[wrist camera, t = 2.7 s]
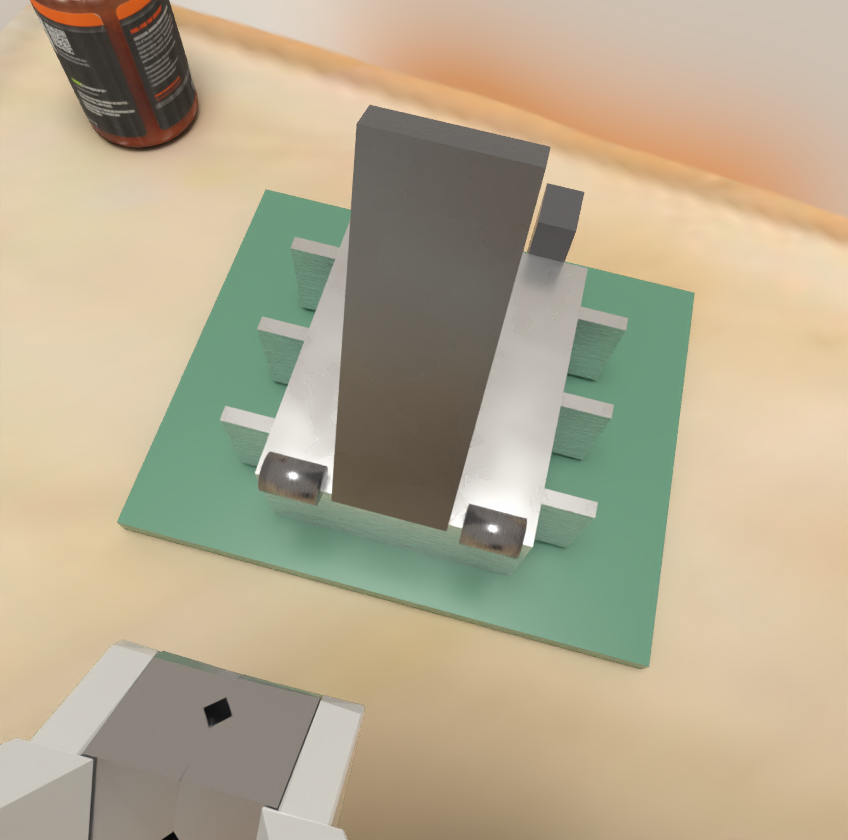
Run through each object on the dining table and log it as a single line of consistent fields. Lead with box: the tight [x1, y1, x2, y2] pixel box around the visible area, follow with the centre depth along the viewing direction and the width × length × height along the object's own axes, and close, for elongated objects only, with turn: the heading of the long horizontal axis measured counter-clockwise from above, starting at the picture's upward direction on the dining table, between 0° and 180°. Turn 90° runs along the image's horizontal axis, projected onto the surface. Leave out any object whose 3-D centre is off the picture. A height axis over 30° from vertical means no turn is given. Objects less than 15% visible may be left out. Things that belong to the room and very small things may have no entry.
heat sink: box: [220, 221, 628, 577], centre depth 29 cm, size 14×13×6 cm
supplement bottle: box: [30, 0, 198, 147], centre depth 35 cm, size 6×6×11 cm
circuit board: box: [117, 190, 694, 669], centre depth 33 cm, size 22×18×1 cm
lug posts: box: [527, 183, 584, 262], centre depth 32 cm, size 8×2×7 cm, turn 75°
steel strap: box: [331, 105, 550, 532], centre depth 20 cm, size 4×13×1 cm
